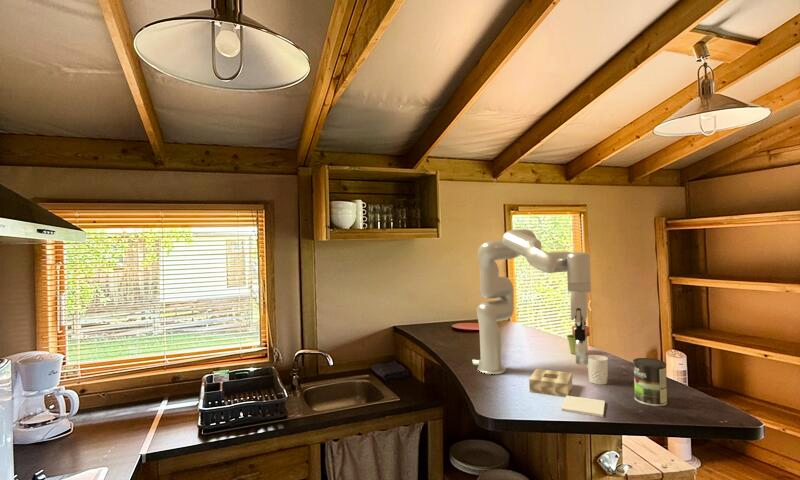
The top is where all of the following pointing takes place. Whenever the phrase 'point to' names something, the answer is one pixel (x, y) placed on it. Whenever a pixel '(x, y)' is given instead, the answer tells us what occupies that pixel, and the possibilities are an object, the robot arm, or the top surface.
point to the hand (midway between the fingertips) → (581, 338)
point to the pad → (584, 406)
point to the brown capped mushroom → (581, 347)
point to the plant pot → (572, 343)
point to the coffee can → (650, 381)
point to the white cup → (597, 369)
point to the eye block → (551, 382)
